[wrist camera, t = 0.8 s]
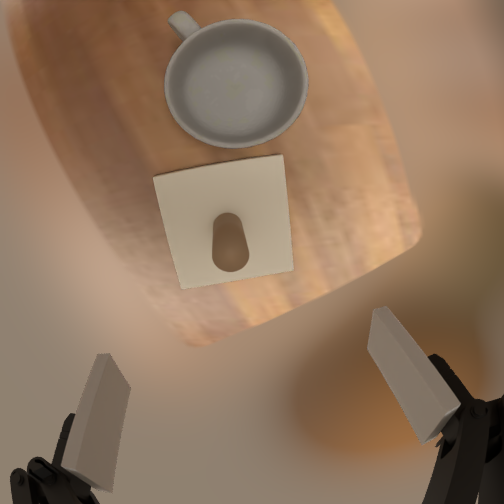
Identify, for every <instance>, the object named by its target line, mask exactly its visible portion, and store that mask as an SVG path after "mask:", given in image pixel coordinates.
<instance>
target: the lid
mask: <svg viewBox="0 0 504 504" xmlns="http://www.w3.org/2000/svg"><path fill="white" fill-rule="evenodd" d="M153 181H154V186H155V190H156V195H157V199H158V204H159V208H160V212H161V216H162V220H163V224H164V228H165V232H166V236H167V240H168V244H169V247H170V251H171V255H172V258H173V262H174V266H175V269H176V273H177V276H178V279H179V283H180V286H181V289H182V290H183V289H189V288H195V287H202V286H208V285H214V284H220V283H226V282H232V281H238V280H243V279H249V278H255V277H260V276H266V275H272V274H277V273H283V272H288V271H294V267H293V253H292V241H291V229H290V218H289V207H288V197H287V187H286V177H285V168H284V159H283V155H282V154H277V155H269V156H261V157H254V158H247V159H240V160H234V161H228V162H222V163H216V164H210V165H205V166H199V167H194V168H189V169H184V170H179V171H174V172H170V173H165V174H161V175H156V176H154V177H153Z"/></svg>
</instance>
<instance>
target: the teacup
mask: <svg viewBox="0 0 504 504" xmlns="http://www.w3.org/2000/svg"><path fill="white" fill-rule="evenodd" d="M168 24H169V25H170V27H171V28H172V29H173V31H174V32H175V33H176V34H177V35H178V37H179V38H180V39H181V40H182V41H183V43H182V44H181V45H180V46H179V47H178V49H177V50H176V51H175V53H174V54H173V56H172V57H171V59H170V62H169V64H168V66H167V70H166V74H165V79H164V93H165V98H166V102H167V104H168V107H169V110H170V112H171V114H172V116H173V117H174V119H175V120H176V122H177V123H178V124H179V125H180V126H181V127H182V128H183V129H184V130H185V131H186V132H187V133H189V134H190V135H191V136H193V137H194V138H196V139H198V140H200V141H202V142H204V143H206V144H209V145H213V146H217V147H222V148H230V149H237V148H247V147H252V146H255V145H259V144H262V143H265V142H267V141H269V140H272V139H273V138H275V137H277V136H279V135H280V134H281V133H283V132H284V131H285V130H286V129H287V128H289V127H290V126H291V125H292V124H293V123H294V121H295V120H296V119H297V117H298V116H299V114H300V113H301V111H302V109H303V106H304V104H305V101H306V97H307V91H308V73H307V68H306V65H305V61H304V59H303V56H302V55H301V53H300V52H299V50H298V48H297V47H296V45H295V44H294V43H293V42H292V41H291V40H290V39H289V38H287V37H286V36H285V35H284V34H283V33H281V32H280V31H279V30H277V29H276V28H274V27H272V26H270V25H267V24H265V23H262V22H258V21H254V20H248V19H230V20H224V21H220V22H216V23H213V24H210V25H208V26H206V27H203V28H201V27H200V26H199V25H198V24H197V23H196V21H195V20H194V19H193V18H192V17H191V16H190V15H189V14H188V13H186V12H185V11H178V12H176V13H174V14H173V15H172V16H170V17H169V19H168Z"/></svg>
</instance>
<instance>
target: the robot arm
mask: <svg viewBox="0 0 504 504" xmlns="http://www.w3.org/2000/svg"><path fill="white" fill-rule="evenodd" d="M367 349H368V351H369V353H370V355H371V356H372V358H373V360H374V361H375V363H376V365H377V366H378V368H379V369H380V371H381V373H382V375H383V376H384V378H385V380H386V381H387V383H388V385H389V387H390V388H391V390H392V392H393V394H394V395H395V397H396V399H397V401H398V402H399V404H400V406H401V408H402V410H403V411H404V413H405V415H406V417H407V418H408V420H409V422H410V424H411V426H412V428H413V430H414V431H415V433H416V435H417V437H418V439H419V441H420V443H421V445H423V444H425V443H427V442H428V441H431V440H432V439H434V438H436V437H437V435H438V434H439V433H440V432H442V434H443V437H442V438H441V439H440V440H439V441H438V442H437V444H436V446H435V447H438V446H439V445H440V449H439V452H438V456H437V460H436V463H435V467H434V470H433V474H432V477H431V480H430V483H429V486H428V489H427V492H426V494H425V498H424V500H423V502H422V504H475V503H476V499H477V495H478V492H479V498H478V504H504V395H503V396H502V397H501V398H499V399H495V400H492V401H489V402H485V401H484V400H480V399H474V398H473V397H472V396H471V394H470V393H469V392H468V390H467V389H466V388H465V386H464V385H463V384H462V382H461V381H460V379H459V378H458V377H457V376H456V375H455V373H454V372H453V370H452V369H450V366H449V365H448V364H447V363H446V361H445V360H444V359H443V358H441V357H440V356H438V355H437V354H433V355H430V356H428V357H427V356H426V355H425V354H424V352H423V351H422V350H421V348H420V347H419V346H418V344H417V343H416V342H415V341H414V340H413V338H412V337H411V336H410V334H409V333H408V332H407V331H406V329H405V328H404V327H403V326H402V324H401V323H400V322H399V321H398V319H397V318H396V317H395V316H394V315H393V313H392V312H391V311H390V310H389V309H388V307H387V306H384V307H381V308H377V309H374V310H373V315H372V322H371V329H370V335H369V341H368V346H367ZM130 391H131V387H130V385H129V384H128V382H127V381H126V379H125V378H124V376H123V374H122V373H121V371H120V370H119V368H118V366H117V365H116V363H115V361H114V360H113V358H112V356H111V355H110V354H97V357H96V359H95V362H94V365H93V367H92V370H91V372H90V375H89V377H88V380H87V383H86V385H85V388H84V391H83V394H82V397H81V399H80V403H79V405H78V408H77V411H76V414H73V413H70V414H69V416H68V417H67V418H66V420H65V421H64V424H63V427H62V432H61V433H60V439H59V440H58V443H57V447H56V450H55V454H54V458H53V461H52V464H50V463H49V462H47V461H46V460H45V459H43V458H42V457H35V458H33V459H31V460H30V462H29V463H28V466H27V472H26V471H25V470H23V469H21V468H17V469H15V470H13V472H12V473H11V476H10V484H11V493H12V499H13V504H100V503H99V502H98V500H97V499H96V497H95V495H94V494H93V493H92V492H91V491H90V490H91V487H93V488H95V489H96V490H98V491H103V492H108V493H112V492H113V484H114V476H115V469H116V463H117V456H118V450H119V444H120V439H121V433H122V428H123V422H124V418H125V413H126V408H127V404H128V399H129V395H130Z"/></svg>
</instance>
